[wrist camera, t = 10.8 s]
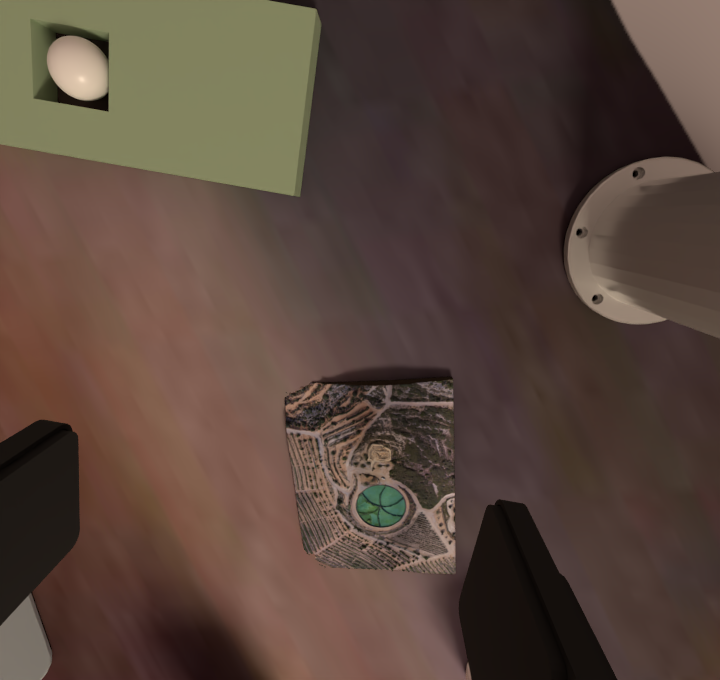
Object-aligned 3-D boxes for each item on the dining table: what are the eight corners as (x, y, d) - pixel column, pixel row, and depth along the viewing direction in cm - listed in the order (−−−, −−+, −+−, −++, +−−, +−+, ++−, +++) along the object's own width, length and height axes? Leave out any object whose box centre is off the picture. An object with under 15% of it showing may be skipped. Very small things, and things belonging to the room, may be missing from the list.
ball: (96, 50, 34) (124, 47, 32) (96, 107, 35) (123, 108, 33) (35, 27, 30) (62, 23, 28) (37, 91, 31) (63, 91, 29)
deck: (321, 24, 32) (316, 8, 29) (300, 196, 35) (294, 195, 33) (13, -30, 32) (-17, -50, 29) (21, 148, 35) (-5, 143, 33)
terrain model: (285, 380, 40) (277, 394, 37) (450, 373, 40) (456, 386, 36) (306, 562, 46) (301, 587, 43) (452, 559, 45) (457, 584, 42)
